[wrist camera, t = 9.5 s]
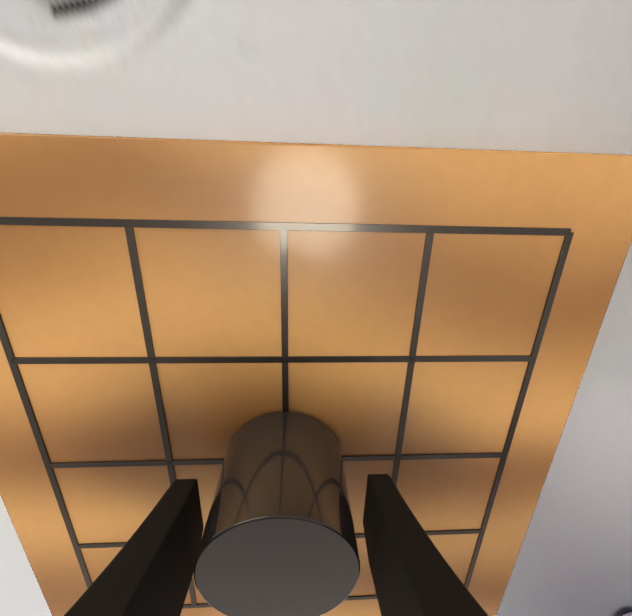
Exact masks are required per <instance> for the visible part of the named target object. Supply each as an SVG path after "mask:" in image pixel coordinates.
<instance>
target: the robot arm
mask: <svg viewBox="0 0 632 616" xmlns="http://www.w3.org/2000/svg"><path fill="white" fill-rule="evenodd" d="M363 527H364V534H365V541H366V548H367V554H368V561H369V565H370V570H371V574H372V578H373V583H374V587H375V591H376V595H377V599H378V604H379V608H380V612H381V616H488V614H487V613H486V612H485V611H484V610H483V608H482V607H481V606H480V605H479V603H478V602H477V601H476V600H475V598H474V597H473V596H472V595H471V593H470V592H469V591H468V590H467V588H466V587H465V586H464V584H463V583H462V582H461V580H460V579H459V578H458V576H457V575H456V574H455V573H454V571H453V570H452V569H451V567H450V566H449V565H448V563H447V562H446V560H445V559H444V558H443V556H442V555H441V554H440V552H439V551H438V549H437V548H436V546H435V545H434V544H433V542H432V541H431V539H430V538H429V536H428V535H427V534H426V532H425V531H424V529H423V528H422V526H421V525H420V523H419V522H418V520H417V519H416V517H415V516H414V514H413V513H412V511H411V510H410V508H409V507H408V505H407V503H406V502H405V500H404V499H403V497H402V495H401V494H400V492H399V490H398V489H397V487H396V485H395V484H394V482H393V480H392V479H391V477H390V476H389V475H388V474H368V477H367V486H366V496H365V505H364V515H363ZM203 529H204V525H203V518H202V511H201V503H200V496H199V489H198V482H197V479H176V480H175V481H174V482H173V483H172V484H171V485H170V487H169V488H168V489H167V491H166V492H165V494H164V495H163V496H162V498H161V499H160V500H159V502H158V503H157V504H156V506H155V507H154V508H153V509H152V511H151V512H150V513H149V515H148V516H147V517H146V519H145V520H144V521H143V522H142V524H141V525H140V526H139V528H138V529H137V530H136V531H135V533H134V534H133V535H132V536H131V538H130V539H129V540H128V541H127V542H126V544H125V545H124V546H123V547H122V549H121V550H120V551H119V552H118V554H117V555H116V556H115V557H114V558H113V560H112V561H111V562H110V563H109V564H108V566H107V567H106V568H105V569H104V570H103V571H102V573H101V574H100V575H99V576H98V577H97V578H96V580H95V581H94V582H93V583H92V584H91V585H90V586H89V588H88V589H87V590H86V591H85V592H84V593H83V594H82V596H81V597H80V598H79V599H78V600H77V601H76V603H75V604H74V605H73V606H72V607H71V608H70V609H69V610H68V611H67V612H66V614H65V615H64V616H180V615H181V612H182V609H183V605H184V602H185V599H186V596H187V593H188V589H189V586H190V583H191V580H192V576H193V573H194V564H195V560H196V556H197V553H198V549H199V546H200V542H201V538H202V534H203ZM622 616H632V612H629V613H626V614H624V615H622Z"/></svg>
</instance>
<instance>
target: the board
mask: <svg viewBox="0 0 632 616" xmlns="http://www.w3.org/2000/svg"><path fill="white" fill-rule="evenodd" d="M631 241H632V155H616V154H587V153H559V152H531V151H503V150H475V149H446V148H418V147H390V146H362V145H333V144H305V143H277V142H249V141H221V140H192V139H164V138H136V137H108V136H79V135H51V134H23V133H0V495H1V498H2V500H3V502H4V505H5V507H6V509H7V512H8V514H9V516H10V519H11V521H12V523H13V526H14V528H15V530H16V533H17V535H18V537H19V539H20V542H21V544H22V546H23V549H24V551H25V553H26V556H27V558H28V560H29V563H30V565H31V567H32V570H33V572H34V574H35V577H36V579H37V581H38V584H39V586H40V588H41V591H42V593H43V595H44V597H45V600H46V602H47V604H48V607H49V609H50V611H51V614H52V616H64V615H65V614H66V612H67V611H68V610H69V609H70V608H71V607H72V606H73V605H74V604H75V603H76V601H77V600H78V599H79V598H80V597H81V596H82V594H83V593H84V592H85V591H86V590H87V589H88V588H89V586H90V585H91V584H92V583H93V582H94V581H95V580H96V578H97V577H98V576H99V575H100V574H101V573H102V571H103V570H104V569H105V568H106V567H107V566H108V564H109V563H110V562H111V561H112V560H113V558H114V557H115V556H116V555H117V554H118V552H119V551H120V550H121V549H122V547H123V546H124V545H125V544H126V542H127V541H128V540H129V539H130V538H131V536H132V535H133V534H134V533H135V531H136V530H137V529H138V528H139V526H140V525H141V524H142V522H143V521H144V520H145V519H146V517H147V516H148V515H149V513H150V512H151V511H152V509H153V508H154V507H155V506H156V504H157V503H158V502H159V500H160V499H161V498H162V496H163V495H164V494H165V492H166V491H167V489H168V488H169V487H170V485H171V484H172V483H173V482H174V481H175V480H176V479H197V482H198V489H199V496H200V503H201V511H202V518H203V525H204V528H205V525H206V521H207V517H208V514H209V510H210V507H211V503H212V500H213V496H214V493H215V489H216V486H217V482H218V479H219V475H220V471H221V468H222V464H223V461H224V457H225V454H226V450H227V447H228V444H229V442H230V440H231V438H232V436H233V435H234V434H235V432H236V431H237V430H238V429H239V428H240V427H241V426H243V425H244V424H245V423H247V422H248V421H250V420H252V419H253V418H256V417H258V416H260V415H264V414H267V413H272V412H281V411H290V412H298V413H302V414H306V415H309V416H312V417H314V418H316V419H318V420H320V421H321V422H323V423H324V424H325V425H327V426H328V427H329V428H330V429H331V430H332V432H333V433H334V434H335V435H336V437H337V439H338V441H339V444H340V446H341V451H342V457H343V463H344V469H345V475H346V481H347V487H348V493H349V499H350V505H351V511H352V517H353V523H354V529H355V535H356V541H357V547H358V553H359V559H360V574H359V579H358V581H357V584H356V586H355V588H354V589H353V591H352V592H351V594H350V595H349V596H348V597H347V598H346V599H345V600H344V601H343V602H342V603H341V604H340V605H338V606H337V607H335V608H334V609H332V610H331V611H329V612H327V613H325V614H323V615H321V616H381V612H380V608H379V604H378V599H377V595H376V591H375V587H374V583H373V578H372V574H371V570H370V565H369V561H368V554H367V548H366V541H365V534H364V527H363V515H364V505H365V496H366V486H367V477H368V474H388V475H389V476H390V477H391V479H392V480H393V482H394V484H395V485H396V487H397V489H398V490H399V492H400V494H401V495H402V497H403V499H404V500H405V502H406V503H407V505H408V507H409V508H410V510H411V511H412V513H413V514H414V516H415V517H416V519H417V520H418V522H419V523H420V525H421V526H422V528H423V529H424V531H425V532H426V534H427V535H428V536H429V538H430V539H431V541H432V542H433V544H434V545H435V546H436V548H437V549H438V551H439V552H440V554H441V555H442V556H443V558H444V559H445V560H446V562H447V563H448V565H449V566H450V567H451V569H452V570H453V571H454V573H455V574H456V575H457V576H458V578H459V579H460V580H461V582H462V583H463V584H464V586H465V587H466V588H467V590H468V591H469V592H470V593H471V595H472V596H473V597H474V598H475V600H476V601H477V602H478V603H479V605H480V606H481V607H482V608H483V610H484V611H485V612H486V613H487V614H488V616H493V615H496V614H497V612H498V609H499V606H500V603H501V601H502V598H503V595H504V592H505V590H506V587H507V584H508V581H509V579H510V576H511V573H512V570H513V567H514V565H515V562H516V559H517V556H518V554H519V551H520V548H521V545H522V543H523V540H524V537H525V534H526V532H527V529H528V526H529V523H530V520H531V518H532V515H533V512H534V509H535V507H536V504H537V501H538V498H539V496H540V493H541V490H542V487H543V485H544V482H545V479H546V476H547V473H548V471H549V468H550V465H551V462H552V460H553V457H554V454H555V451H556V449H557V446H558V443H559V440H560V438H561V435H562V432H563V429H564V426H565V424H566V421H567V418H568V415H569V413H570V410H571V407H572V404H573V402H574V399H575V396H576V393H577V391H578V388H579V385H580V382H581V379H582V377H583V374H584V371H585V368H586V366H587V363H588V360H589V357H590V355H591V352H592V349H593V346H594V344H595V341H596V338H597V335H598V333H599V330H600V327H601V324H602V321H603V319H604V316H605V313H606V310H607V308H608V305H609V302H610V299H611V297H612V294H613V291H614V288H615V286H616V283H617V280H618V277H619V274H620V272H621V269H622V266H623V263H624V261H625V258H626V255H627V252H628V250H629V247H630V244H631ZM203 532H204V529H203ZM202 535H203V534H202ZM201 539H202V538H201ZM180 616H226V615H224V614H222V613H220V612H219V611H217V610H215V609H214V608H213V607H212V606H210V605H209V604H208V603H207V602H206V601H205V600H204V599H203V597H202V596H201V595H200V593H199V591H198V589H197V587H196V584H195V581H194V573H193V576H192V580H191V583H190V586H189V589H188V593H187V596H186V599H185V602H184V605H183V609H182V612H181V615H180Z"/></svg>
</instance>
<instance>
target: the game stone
mask: <svg viewBox="0 0 632 616" xmlns="http://www.w3.org/2000/svg"><path fill="white" fill-rule="evenodd" d="M359 574H360V559H359V553H358V547H357V541H356V535H355V529H354V523H353V517H352V511H351V505H350V499H349V493H348V487H347V481H346V475H345V469H344V463H343V457H342V451H341V446H340V444H339V441H338V439H337V437H336V435H335V434H334V433H333V432H332V430H331V429H330V428H329V427H328V426H327V425H325V424H324V423H323V422H321V421H320V420H318V419H316V418H314V417H312V416H309V415H306V414H302V413H298V412H290V411H281V412H272V413H267V414H264V415H260V416H258V417H256V418H253V419H252V420H250V421H248V422H247V423H245V424H244V425H243V426H241V427H240V428H239V429H238V430H237V431H236V432H235V434H234V435H233V436H232V438H231V440H230V442H229V444H228V447H227V450H226V454H225V457H224V461H223V464H222V468H221V471H220V475H219V479H218V482H217V486H216V489H215V493H214V496H213V500H212V503H211V507H210V510H209V514H208V517H207V521H206V525H205V528H204V532H203V535H202V539H201V542H200V546H199V549H198V553H197V556H196V560H195V564H194V581H195V584H196V587H197V589H198V591H199V593H200V595H201V596H202V597H203V599H204V600H205V601H206V602H207V603H208V604H209V605H210V606H212V607H213V608H214V609H215V610H217V611H219V612H220V613H222V614H224V615H226V616H321V615H323V614H325V613H327V612H329V611H331V610H332V609H334V608H335V607H337V606H338V605H340V604H341V603H342V602H343V601H344V600H345V599H346V598H347V597H348V596H349V595H350V594H351V592H352V591H353V589H354V588H355V586H356V584H357V581H358V579H359Z"/></svg>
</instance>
